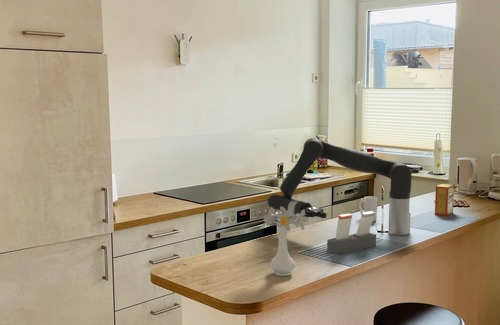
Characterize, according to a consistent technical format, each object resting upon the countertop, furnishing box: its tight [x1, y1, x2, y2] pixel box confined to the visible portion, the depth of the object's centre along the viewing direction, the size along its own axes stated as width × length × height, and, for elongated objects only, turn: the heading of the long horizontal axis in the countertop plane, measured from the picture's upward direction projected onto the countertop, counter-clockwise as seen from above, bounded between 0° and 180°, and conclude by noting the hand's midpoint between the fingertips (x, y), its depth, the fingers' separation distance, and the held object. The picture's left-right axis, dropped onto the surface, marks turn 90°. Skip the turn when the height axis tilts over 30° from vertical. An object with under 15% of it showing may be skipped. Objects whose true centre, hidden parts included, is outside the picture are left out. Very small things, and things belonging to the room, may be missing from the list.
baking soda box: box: [434, 183, 455, 217], centre depth 309 cm, size 10×6×16 cm
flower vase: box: [261, 206, 309, 277], centre depth 211 cm, size 13×18×25 cm
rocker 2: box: [355, 211, 375, 236], centre depth 245 cm, size 6×2×11 cm, turn 124°
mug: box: [358, 195, 378, 223], centre depth 296 cm, size 10×7×12 cm, turn 51°
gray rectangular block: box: [326, 232, 377, 255], centre depth 244 cm, size 23×6×6 cm, turn 124°
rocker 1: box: [334, 212, 353, 240], centre depth 239 cm, size 6×2×11 cm, turn 124°
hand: (325, 215), depth 248 cm, fingers closed
